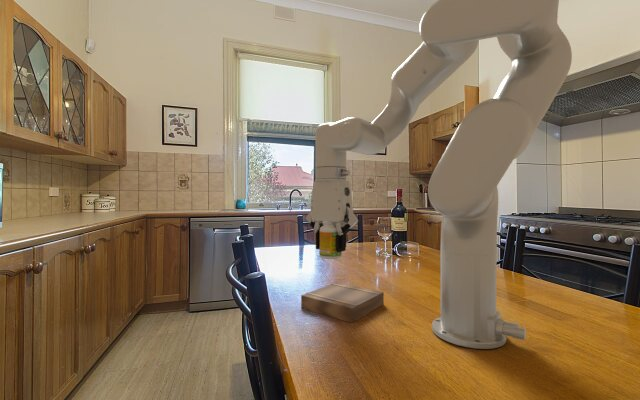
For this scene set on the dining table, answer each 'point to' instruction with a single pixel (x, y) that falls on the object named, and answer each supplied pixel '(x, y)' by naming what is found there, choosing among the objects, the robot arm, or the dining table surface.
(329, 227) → the supplement bottle
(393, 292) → the dining table surface
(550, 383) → the dining table surface
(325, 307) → the walnut board
